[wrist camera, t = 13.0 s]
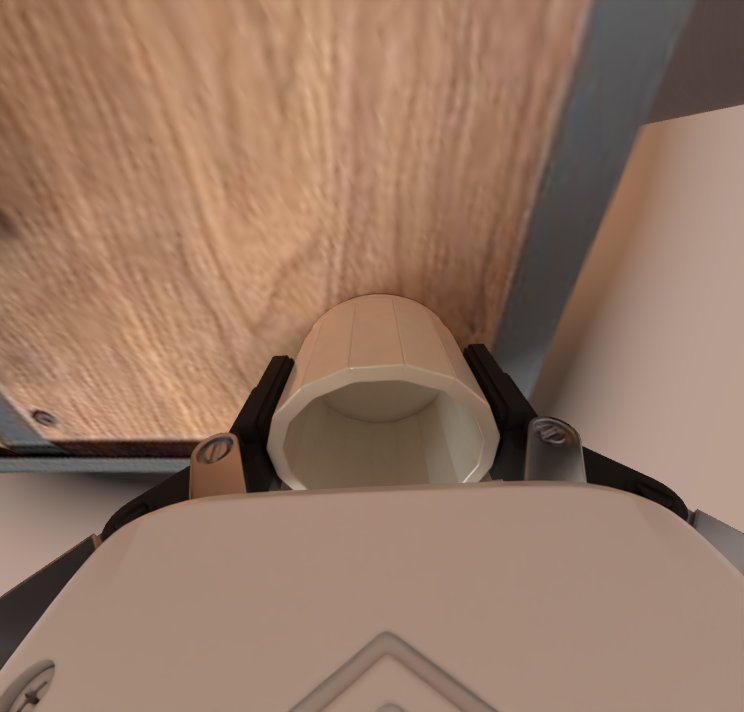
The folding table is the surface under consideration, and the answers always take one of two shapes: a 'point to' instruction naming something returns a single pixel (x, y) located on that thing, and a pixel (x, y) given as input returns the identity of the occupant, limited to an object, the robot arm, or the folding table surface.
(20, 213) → the folding table surface
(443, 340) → the ramekin
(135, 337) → the folding table surface
